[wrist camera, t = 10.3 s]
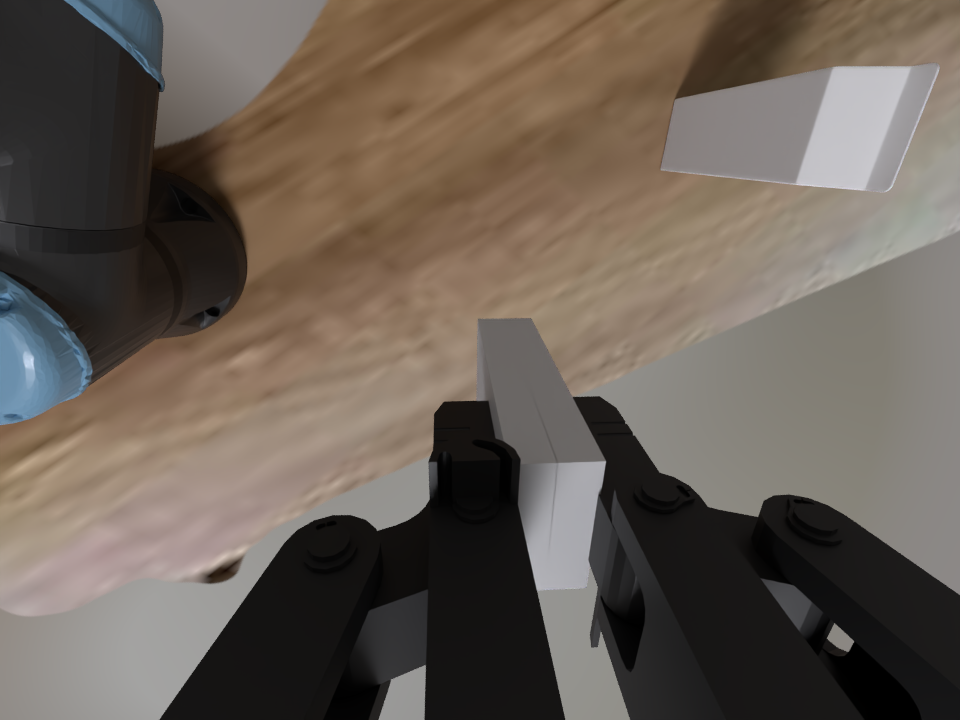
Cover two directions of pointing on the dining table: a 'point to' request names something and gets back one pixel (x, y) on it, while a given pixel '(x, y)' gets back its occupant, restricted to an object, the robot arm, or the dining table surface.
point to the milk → (804, 127)
